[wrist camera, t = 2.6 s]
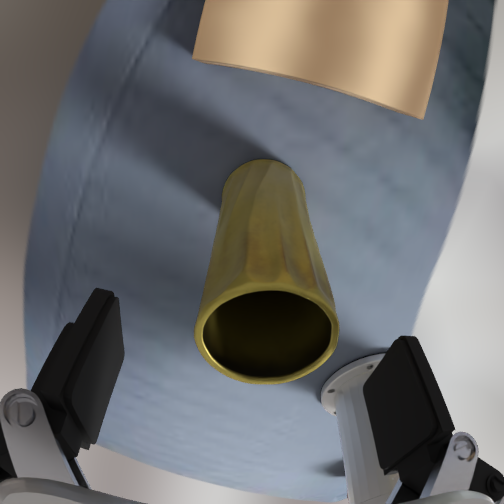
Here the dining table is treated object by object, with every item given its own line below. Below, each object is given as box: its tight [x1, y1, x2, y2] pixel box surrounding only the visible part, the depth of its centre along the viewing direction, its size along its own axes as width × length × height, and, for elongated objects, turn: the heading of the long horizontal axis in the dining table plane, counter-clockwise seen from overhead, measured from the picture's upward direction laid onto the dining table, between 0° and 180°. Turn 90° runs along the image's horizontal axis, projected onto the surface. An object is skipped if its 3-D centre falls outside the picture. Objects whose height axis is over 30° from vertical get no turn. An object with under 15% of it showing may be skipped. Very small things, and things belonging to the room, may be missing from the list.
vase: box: [194, 159, 339, 384], centre depth 17 cm, size 6×6×14 cm
